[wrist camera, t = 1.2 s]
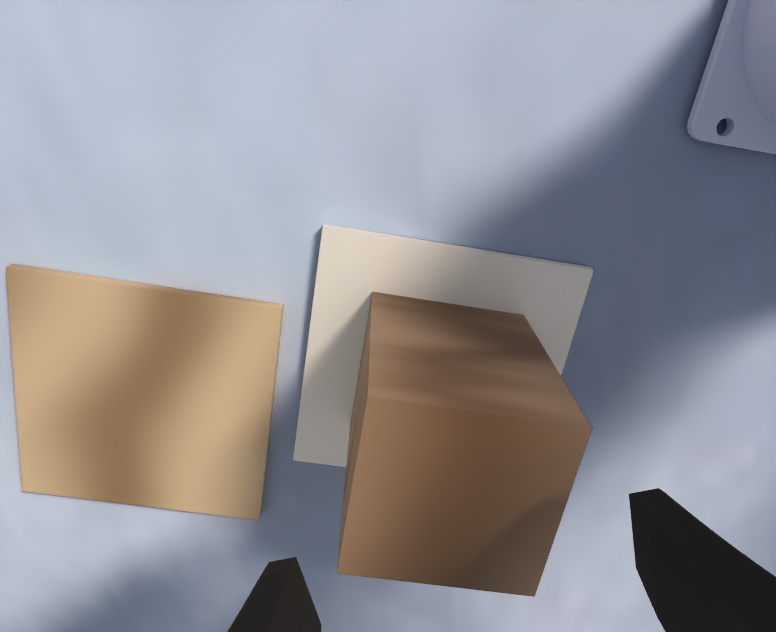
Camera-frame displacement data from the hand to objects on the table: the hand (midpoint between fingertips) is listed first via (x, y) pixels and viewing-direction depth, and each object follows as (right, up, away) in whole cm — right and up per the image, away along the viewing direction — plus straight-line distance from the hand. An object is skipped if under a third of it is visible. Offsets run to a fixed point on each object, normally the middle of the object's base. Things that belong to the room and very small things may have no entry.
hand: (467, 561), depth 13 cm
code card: (0, +3, +9) cm, 9 cm away
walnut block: (0, +3, +8) cm, 9 cm away
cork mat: (-10, +2, +9) cm, 14 cm away
